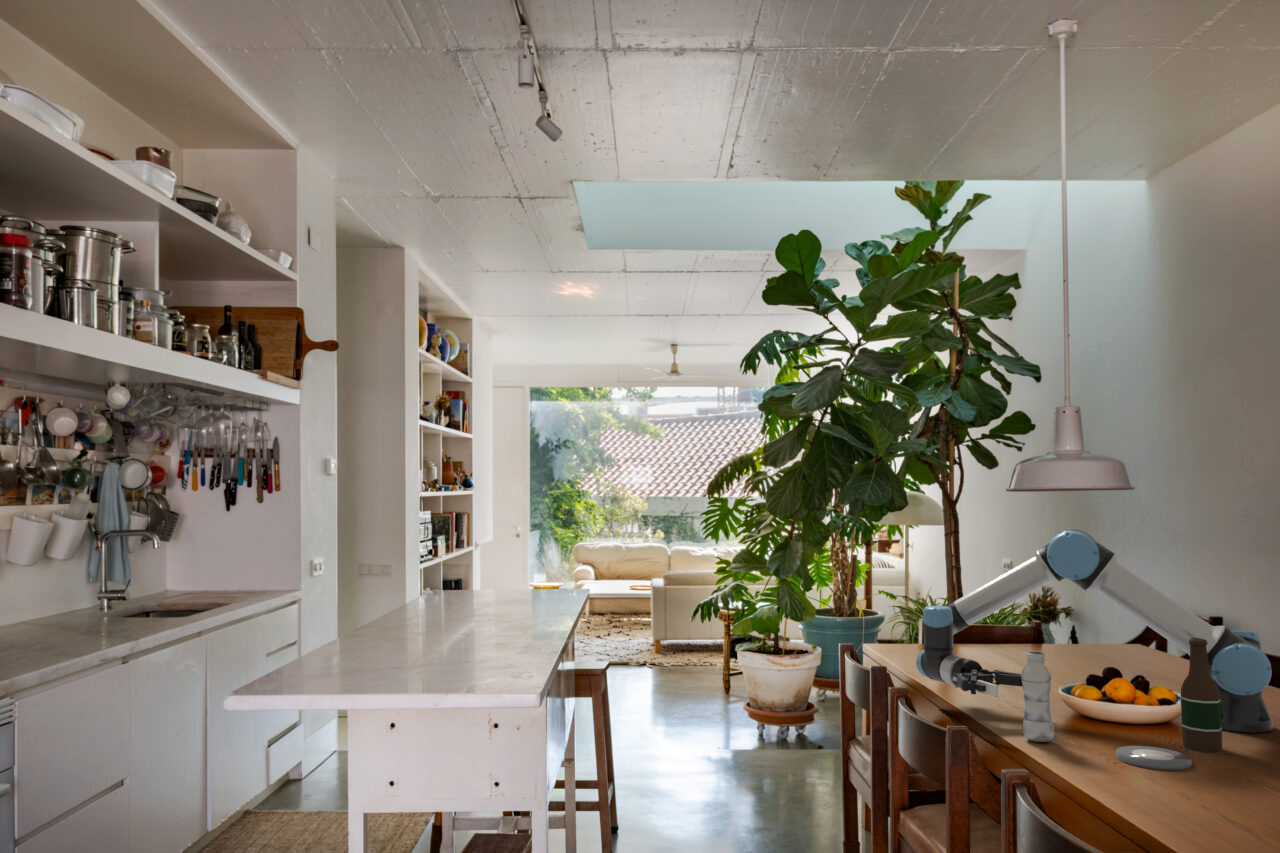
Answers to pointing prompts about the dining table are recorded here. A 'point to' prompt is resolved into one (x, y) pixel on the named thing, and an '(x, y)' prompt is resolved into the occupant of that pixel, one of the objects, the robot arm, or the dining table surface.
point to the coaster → (1153, 758)
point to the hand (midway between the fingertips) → (1021, 689)
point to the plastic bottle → (1037, 699)
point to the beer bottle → (1200, 703)
